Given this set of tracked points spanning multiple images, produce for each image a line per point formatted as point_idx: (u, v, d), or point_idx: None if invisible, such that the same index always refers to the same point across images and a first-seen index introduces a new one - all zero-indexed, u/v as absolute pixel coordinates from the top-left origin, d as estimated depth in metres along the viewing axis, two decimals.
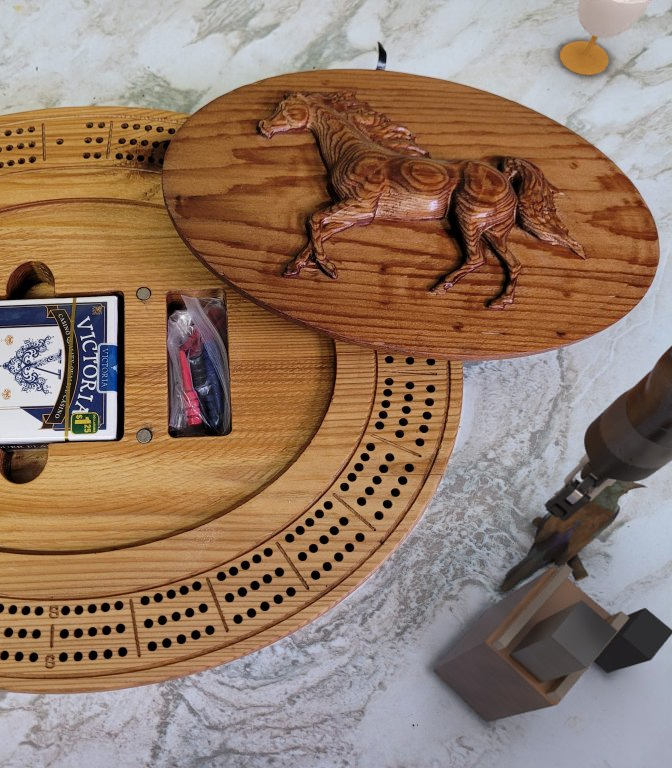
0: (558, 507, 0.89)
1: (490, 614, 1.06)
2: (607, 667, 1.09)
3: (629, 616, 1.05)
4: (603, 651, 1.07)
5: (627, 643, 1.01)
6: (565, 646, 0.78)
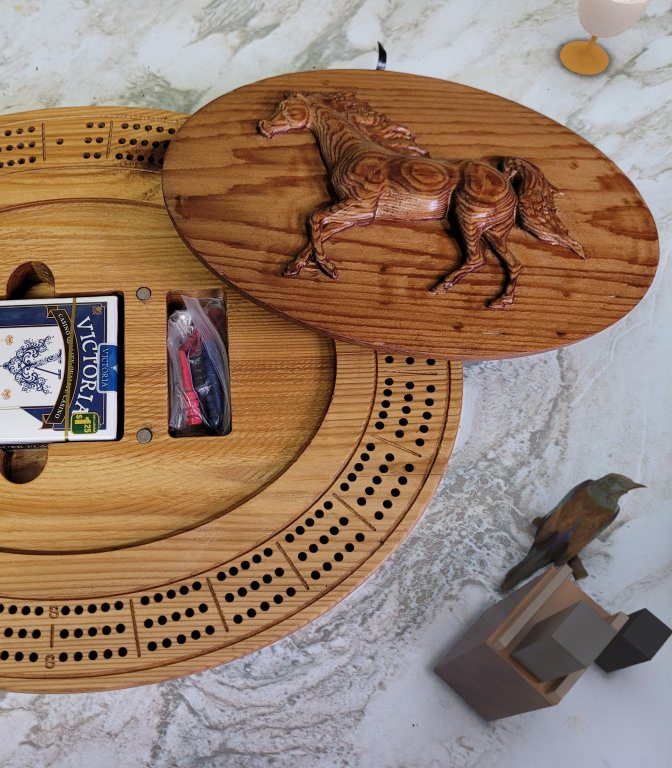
0: None
1: (490, 614, 1.06)
2: (607, 667, 1.09)
3: (629, 616, 1.05)
4: (603, 651, 1.07)
5: (627, 643, 1.01)
6: (565, 646, 0.78)
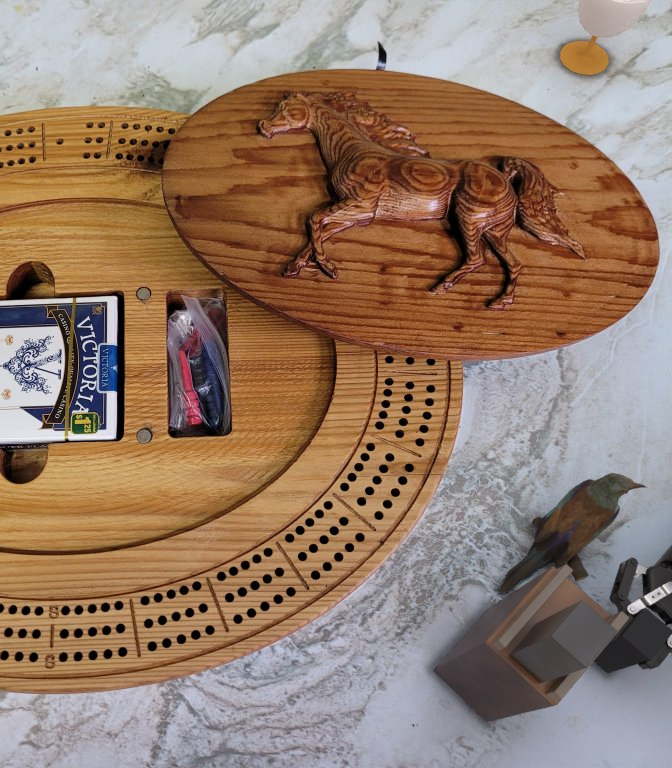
0: None
1: (490, 614, 1.06)
2: (607, 667, 1.09)
3: None
4: (603, 651, 1.07)
5: (627, 643, 1.01)
6: (565, 646, 0.78)
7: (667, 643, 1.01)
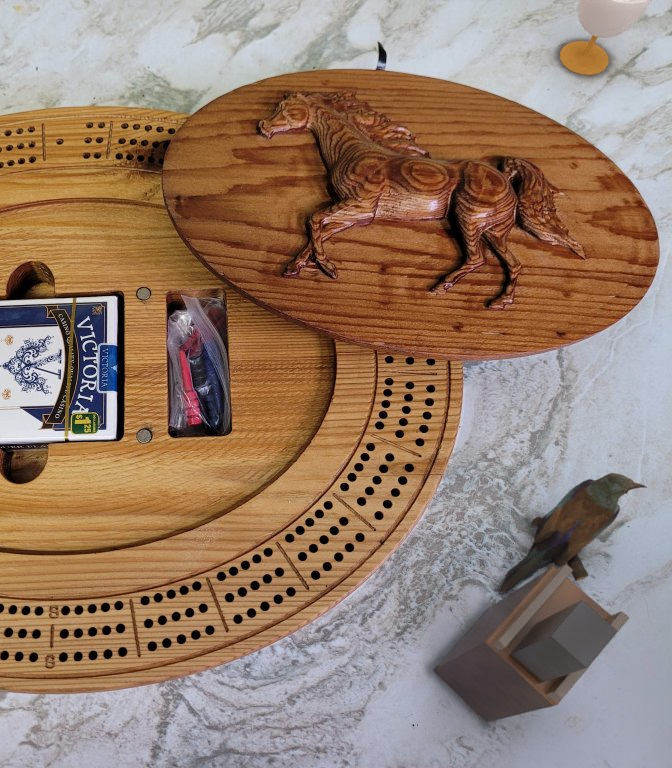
0: None
1: (490, 614, 1.06)
2: None
3: None
4: None
5: None
6: (565, 646, 0.78)
7: None
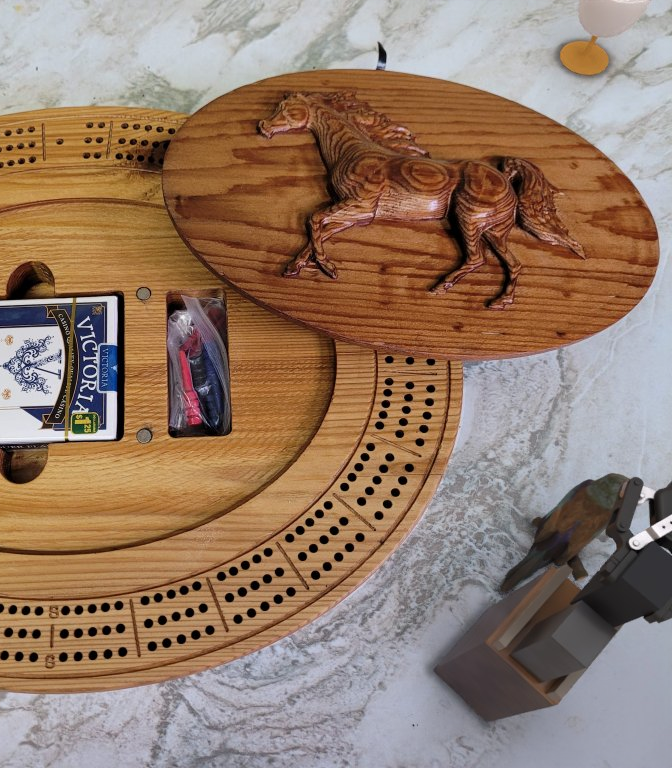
0: None
1: (490, 614, 1.06)
2: None
3: None
4: (597, 602, 0.81)
5: (628, 587, 0.75)
6: (565, 646, 0.78)
7: None
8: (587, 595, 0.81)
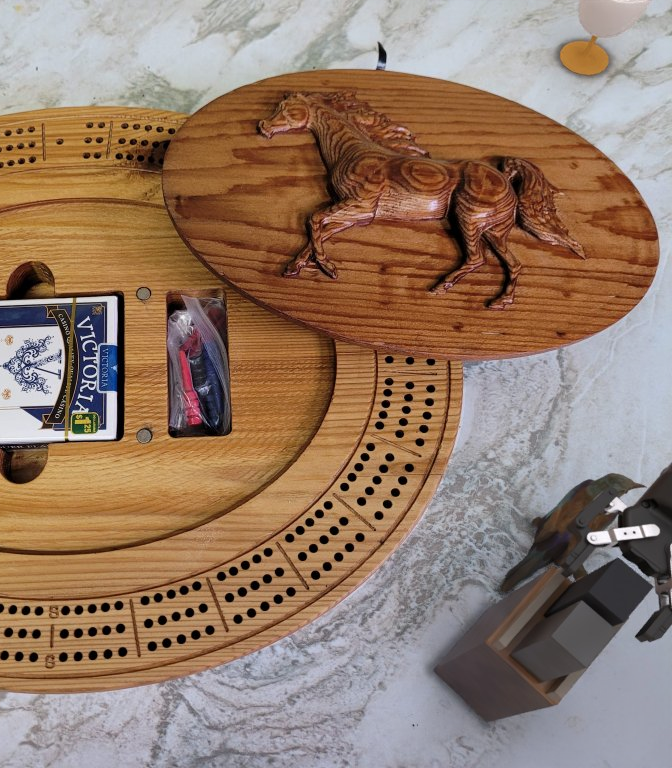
0: None
1: (490, 614, 1.06)
2: None
3: (599, 569, 0.84)
4: None
5: (595, 601, 0.80)
6: (565, 646, 0.78)
7: None
8: (558, 608, 0.87)
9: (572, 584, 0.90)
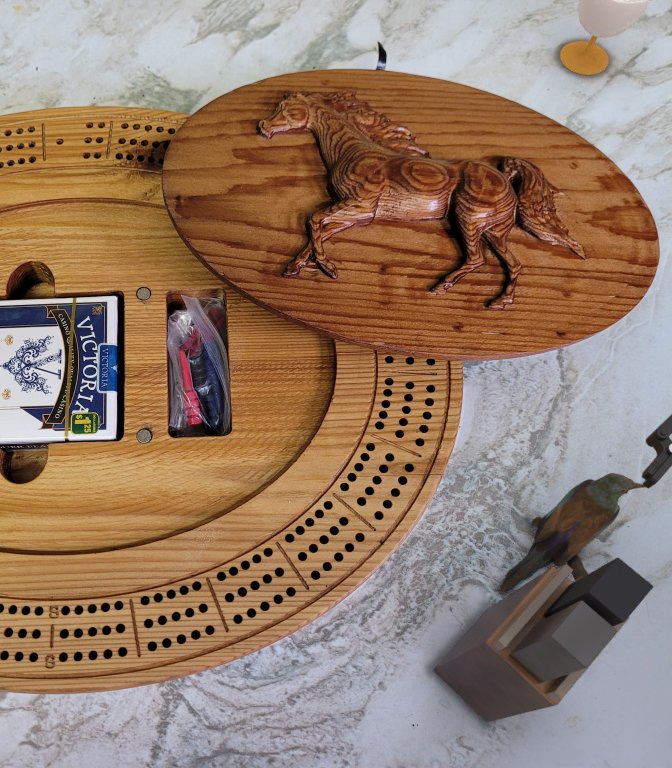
0: None
1: (490, 614, 1.06)
2: None
3: (599, 569, 0.84)
4: None
5: (595, 601, 0.80)
6: (565, 646, 0.78)
7: None
8: (558, 608, 0.87)
9: (572, 584, 0.90)
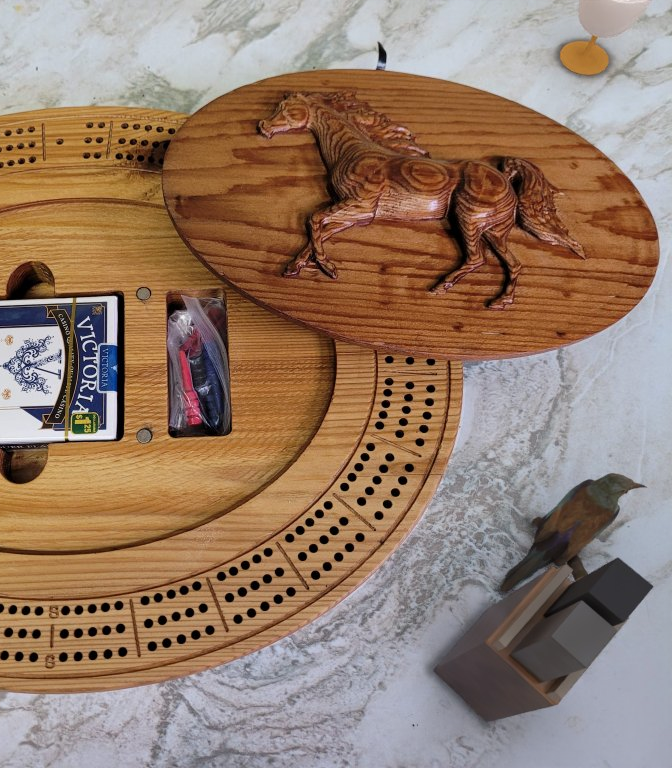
0: None
1: (490, 614, 1.06)
2: None
3: (599, 569, 0.84)
4: None
5: (595, 601, 0.80)
6: (565, 646, 0.78)
7: None
8: (558, 608, 0.87)
9: (572, 584, 0.90)
